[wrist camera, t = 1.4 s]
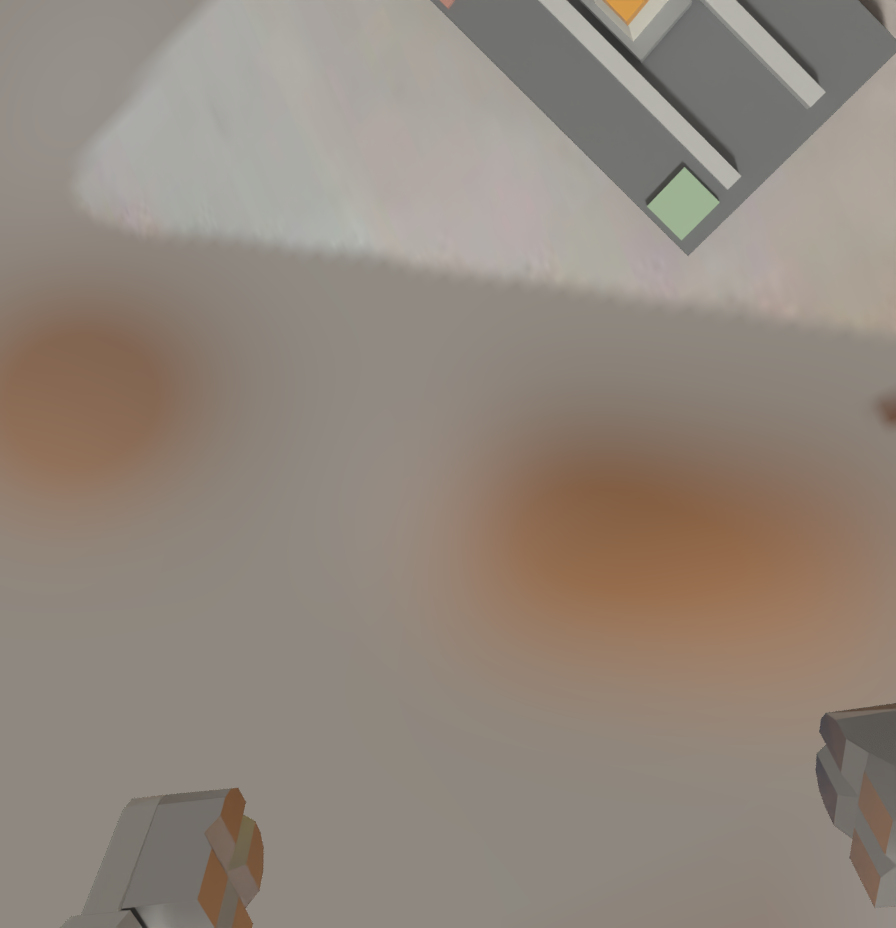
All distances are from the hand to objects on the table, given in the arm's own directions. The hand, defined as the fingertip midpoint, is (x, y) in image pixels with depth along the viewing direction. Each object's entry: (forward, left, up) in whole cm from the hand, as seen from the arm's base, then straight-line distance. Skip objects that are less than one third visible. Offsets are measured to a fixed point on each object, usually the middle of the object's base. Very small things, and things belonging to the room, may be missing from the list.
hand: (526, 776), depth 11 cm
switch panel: (-15, -4, -35) cm, 38 cm away
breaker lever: (-15, -4, -32) cm, 36 cm away
